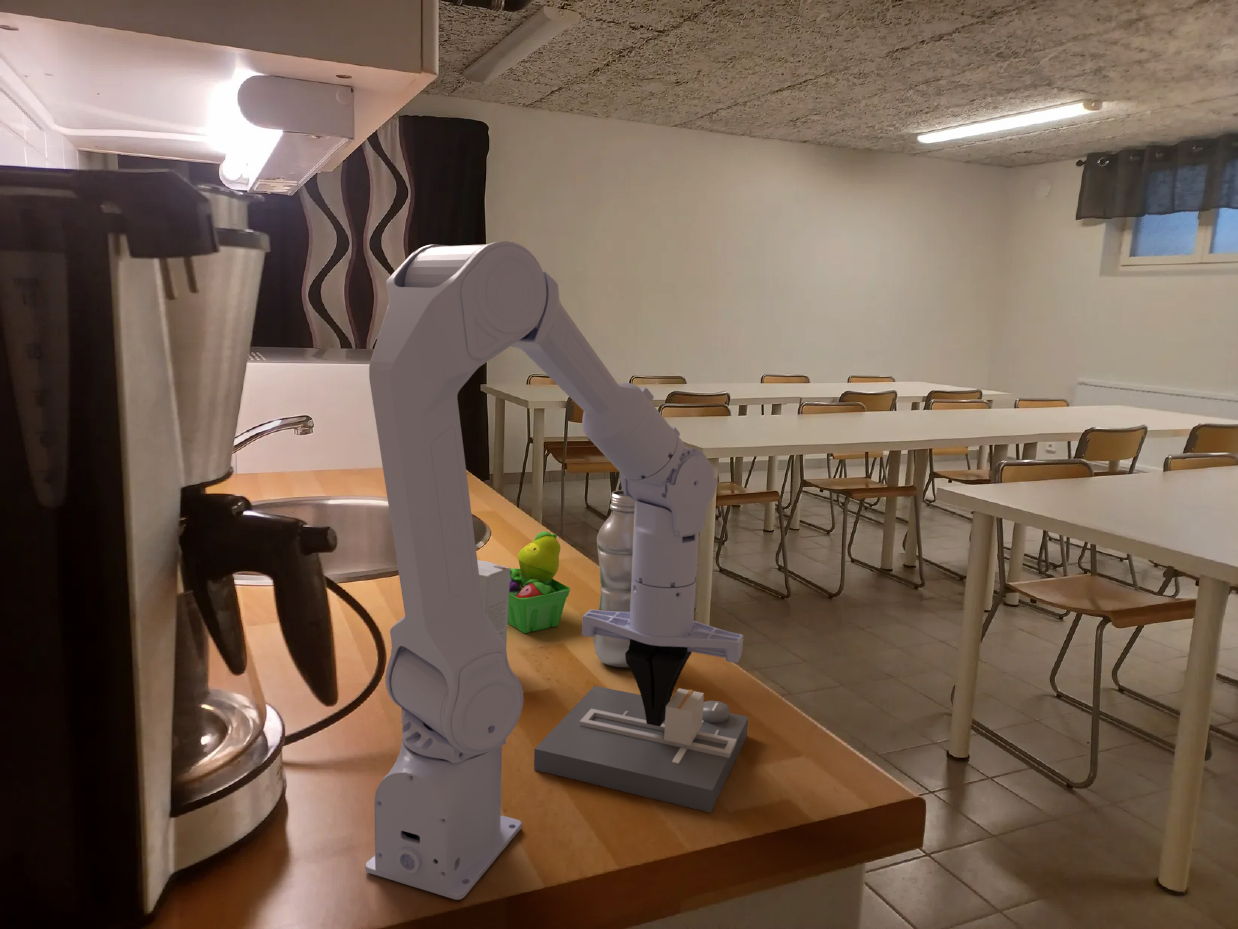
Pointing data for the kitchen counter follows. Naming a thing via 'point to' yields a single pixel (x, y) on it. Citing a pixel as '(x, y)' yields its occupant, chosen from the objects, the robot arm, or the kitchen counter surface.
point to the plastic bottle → (615, 573)
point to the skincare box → (495, 594)
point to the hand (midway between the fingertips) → (656, 720)
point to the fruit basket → (536, 586)
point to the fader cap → (683, 716)
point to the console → (643, 750)
